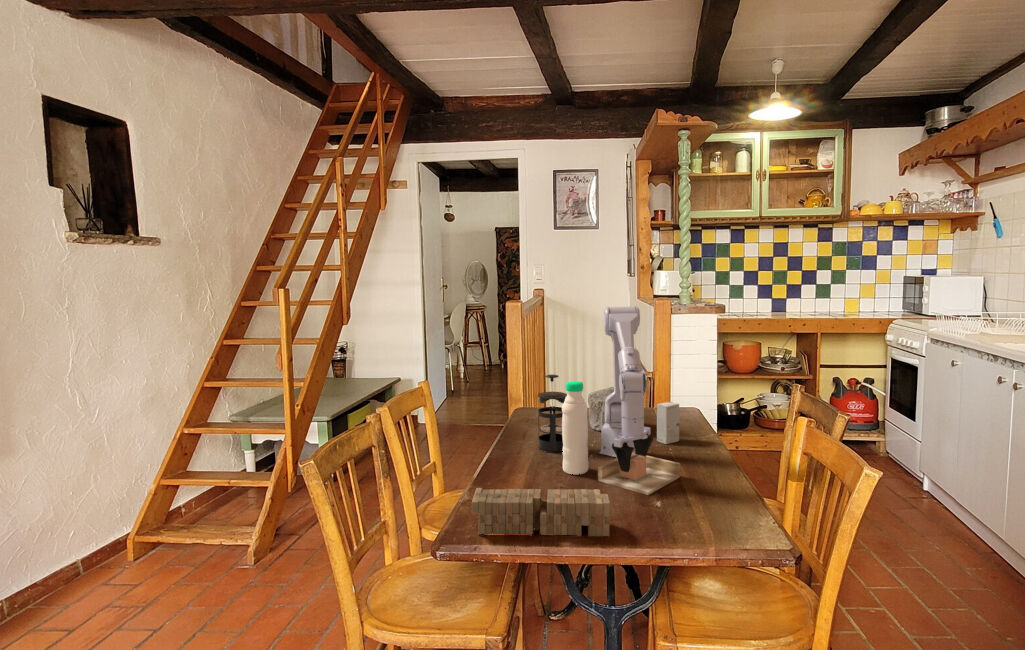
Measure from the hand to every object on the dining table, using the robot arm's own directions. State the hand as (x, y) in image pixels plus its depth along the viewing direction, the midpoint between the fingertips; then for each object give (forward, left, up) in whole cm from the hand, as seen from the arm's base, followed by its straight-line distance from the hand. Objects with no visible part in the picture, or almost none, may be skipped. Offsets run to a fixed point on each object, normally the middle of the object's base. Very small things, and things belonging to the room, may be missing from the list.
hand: (632, 467), depth 158 cm
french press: (-34, +8, -4) cm, 35 cm away
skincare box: (-10, +36, -4) cm, 37 cm away
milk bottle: (-16, -4, -4) cm, 17 cm away
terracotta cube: (0, 0, -2) cm, 2 cm away
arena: (+1, +2, -3) cm, 4 cm away
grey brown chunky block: (-30, +38, -4) cm, 48 cm away
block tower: (0, -37, -4) cm, 38 cm away
